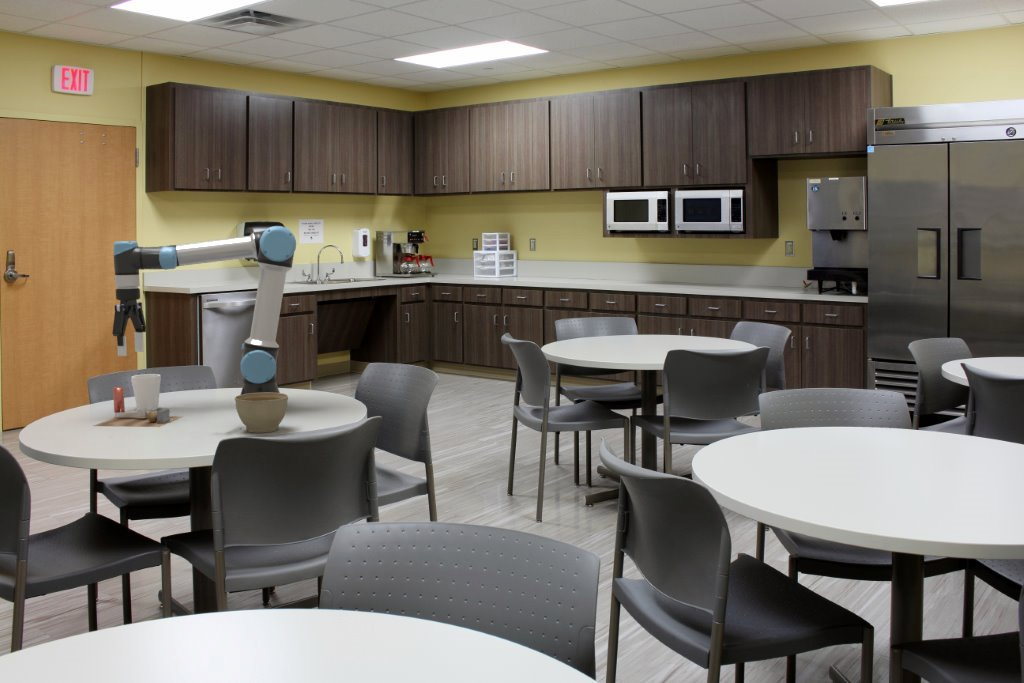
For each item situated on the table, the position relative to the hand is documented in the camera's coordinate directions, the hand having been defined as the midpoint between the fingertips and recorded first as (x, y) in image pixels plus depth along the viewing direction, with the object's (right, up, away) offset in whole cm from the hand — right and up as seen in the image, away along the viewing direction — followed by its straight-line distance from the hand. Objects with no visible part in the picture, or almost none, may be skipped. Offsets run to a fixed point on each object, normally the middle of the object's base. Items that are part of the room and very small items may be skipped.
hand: (131, 353), depth 316 cm
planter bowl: (+49, -24, -19) cm, 58 cm away
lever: (+6, -21, -6) cm, 22 cm away
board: (+7, -23, -10) cm, 26 cm away
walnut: (+12, -20, -13) cm, 27 cm away
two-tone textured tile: (+16, -22, -13) cm, 30 cm away
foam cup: (+1, -21, +12) cm, 24 cm away
